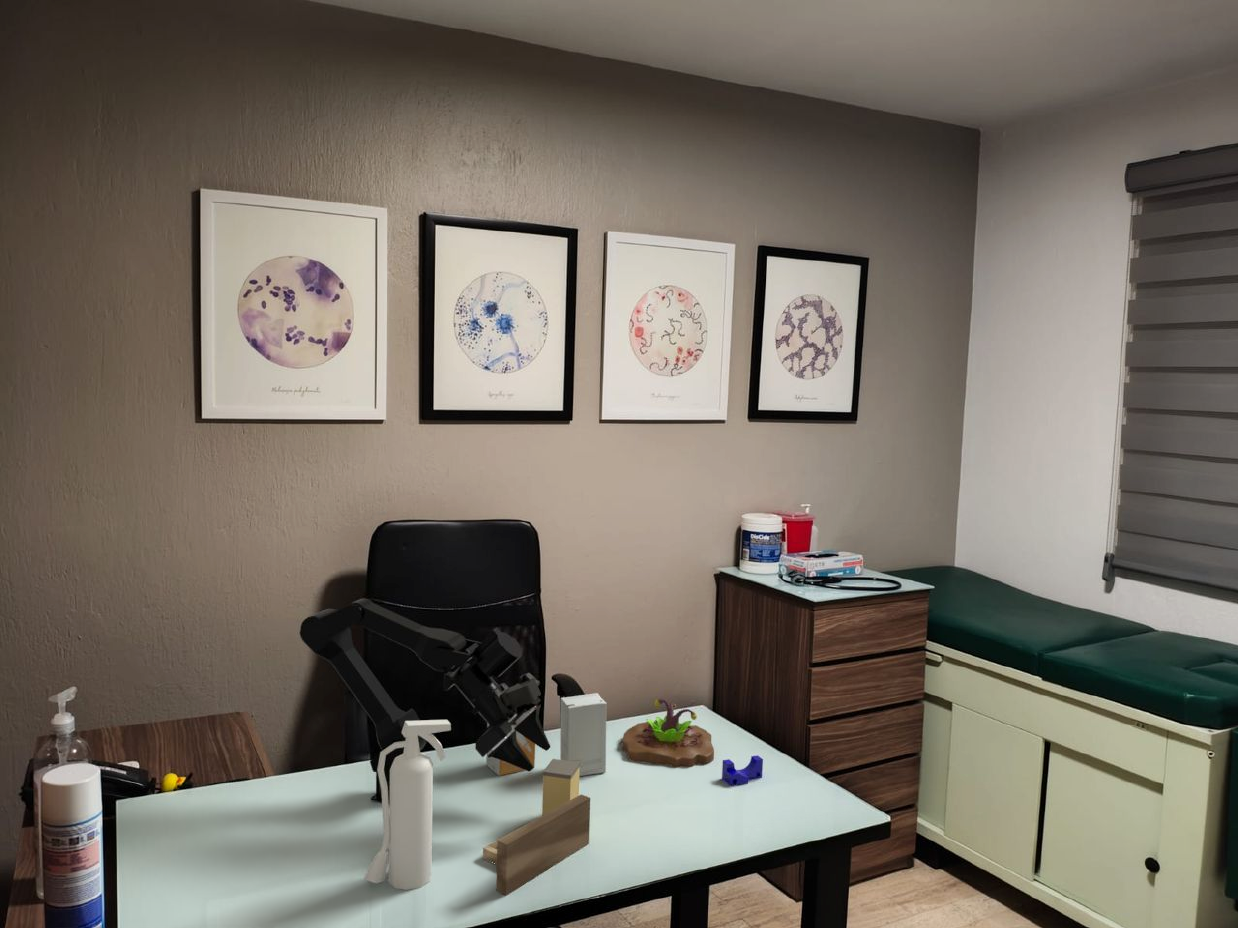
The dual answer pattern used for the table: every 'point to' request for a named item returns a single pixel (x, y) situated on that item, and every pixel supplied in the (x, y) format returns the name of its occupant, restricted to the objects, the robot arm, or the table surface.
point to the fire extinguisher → (408, 809)
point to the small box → (506, 768)
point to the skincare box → (584, 732)
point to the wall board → (540, 844)
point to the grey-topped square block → (559, 784)
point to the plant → (668, 741)
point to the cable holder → (742, 771)
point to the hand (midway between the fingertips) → (540, 758)
